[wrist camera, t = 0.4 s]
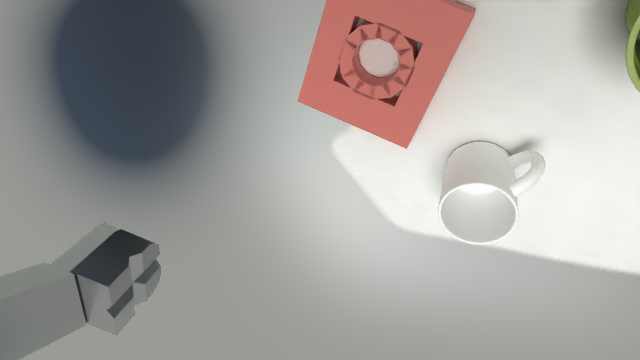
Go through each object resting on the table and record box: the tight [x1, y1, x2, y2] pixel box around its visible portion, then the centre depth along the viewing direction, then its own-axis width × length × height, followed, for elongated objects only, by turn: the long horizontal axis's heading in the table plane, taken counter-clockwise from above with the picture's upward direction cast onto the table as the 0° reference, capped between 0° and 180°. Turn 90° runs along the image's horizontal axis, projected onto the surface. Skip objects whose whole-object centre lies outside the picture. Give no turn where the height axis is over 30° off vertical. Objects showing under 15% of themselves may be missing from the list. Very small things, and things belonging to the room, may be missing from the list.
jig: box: [298, 0, 475, 149], centre depth 51 cm, size 17×15×3 cm
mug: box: [438, 142, 545, 245], centre depth 51 cm, size 12×8×10 cm
